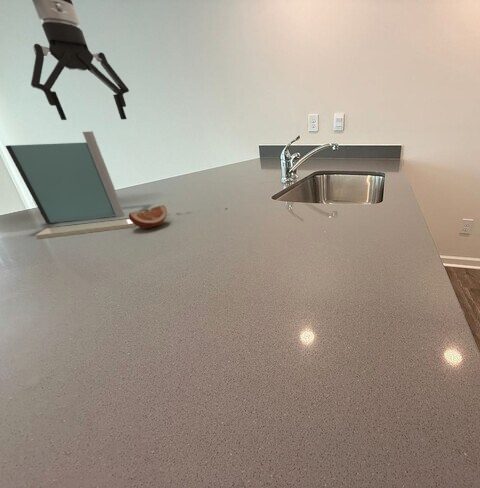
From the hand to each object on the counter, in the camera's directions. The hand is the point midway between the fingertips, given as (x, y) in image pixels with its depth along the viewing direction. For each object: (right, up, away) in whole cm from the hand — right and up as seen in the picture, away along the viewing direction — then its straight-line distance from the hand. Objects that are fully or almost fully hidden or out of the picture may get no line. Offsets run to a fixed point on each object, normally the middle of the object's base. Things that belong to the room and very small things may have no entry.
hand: (95, 119), depth 74 cm
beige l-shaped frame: (+3, -30, -2) cm, 30 cm away
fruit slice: (+21, -31, -6) cm, 38 cm away
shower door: (-2, -27, -1) cm, 27 cm away
